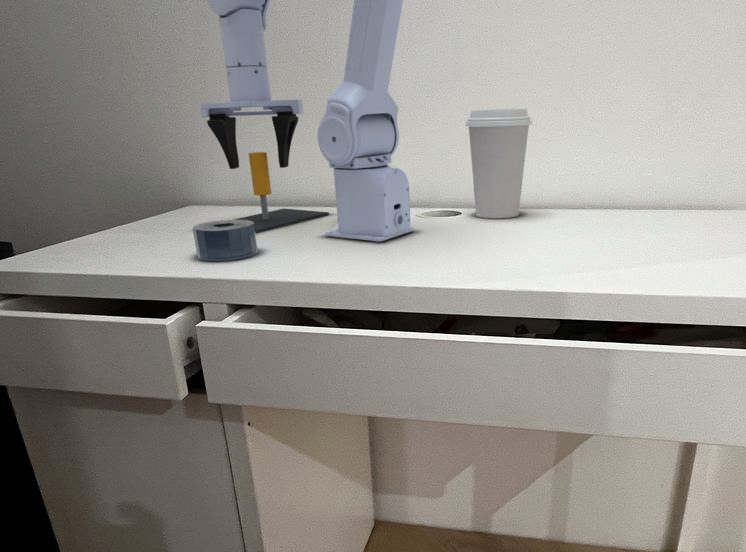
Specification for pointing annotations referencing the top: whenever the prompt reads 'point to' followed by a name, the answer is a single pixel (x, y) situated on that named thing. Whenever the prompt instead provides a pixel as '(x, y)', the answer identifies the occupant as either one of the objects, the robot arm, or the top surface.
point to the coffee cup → (498, 159)
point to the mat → (282, 218)
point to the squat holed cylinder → (225, 240)
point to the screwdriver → (260, 179)
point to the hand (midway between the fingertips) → (259, 167)
